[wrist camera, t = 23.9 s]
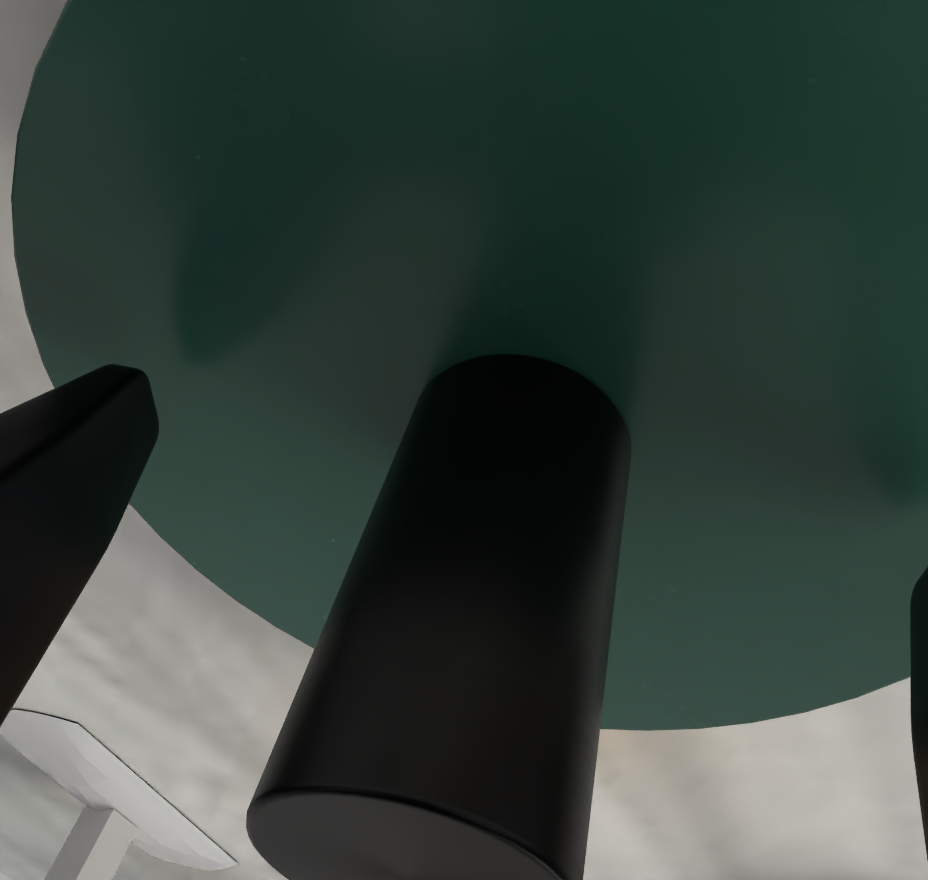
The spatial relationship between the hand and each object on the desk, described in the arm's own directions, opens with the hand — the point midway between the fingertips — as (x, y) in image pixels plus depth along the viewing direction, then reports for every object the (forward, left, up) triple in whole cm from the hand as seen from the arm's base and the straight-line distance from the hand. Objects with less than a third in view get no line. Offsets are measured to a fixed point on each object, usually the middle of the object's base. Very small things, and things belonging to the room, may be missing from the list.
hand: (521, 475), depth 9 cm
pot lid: (0, 0, -1) cm, 1 cm away
